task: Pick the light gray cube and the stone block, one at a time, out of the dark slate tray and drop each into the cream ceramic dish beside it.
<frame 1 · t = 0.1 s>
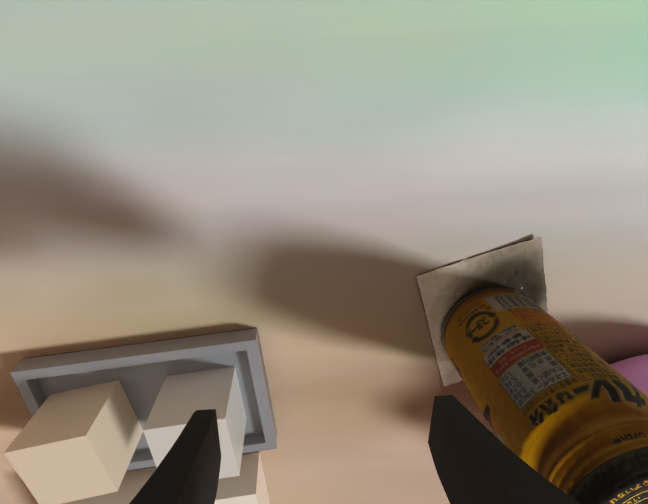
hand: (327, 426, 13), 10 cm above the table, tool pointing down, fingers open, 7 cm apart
light gray cube: (207, 397, 24), resting on slate tray
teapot: (633, 407, 28), on the table
sand stone: (98, 413, 23), resting on slate tray
condiment: (485, 313, 24), on the table
slate tray: (160, 398, 24), on the table
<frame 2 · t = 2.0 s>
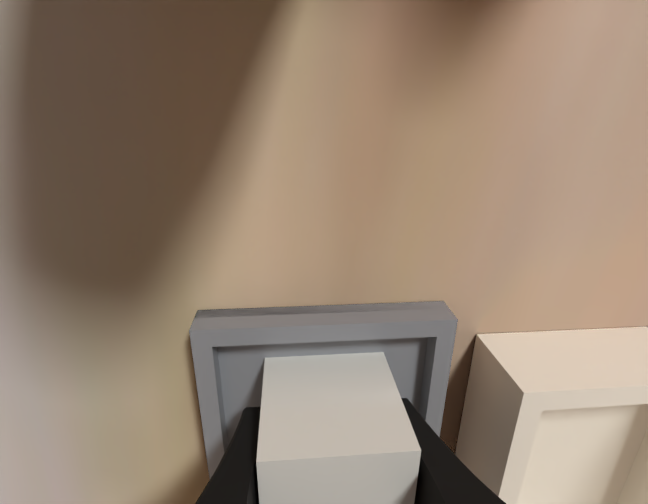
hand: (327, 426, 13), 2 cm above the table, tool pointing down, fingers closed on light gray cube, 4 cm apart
cream dish: (549, 454, 17), on the table
light gray cube: (324, 401, 14), resting on slate tray, touching gripper
slate tray: (322, 452, 15), on the table
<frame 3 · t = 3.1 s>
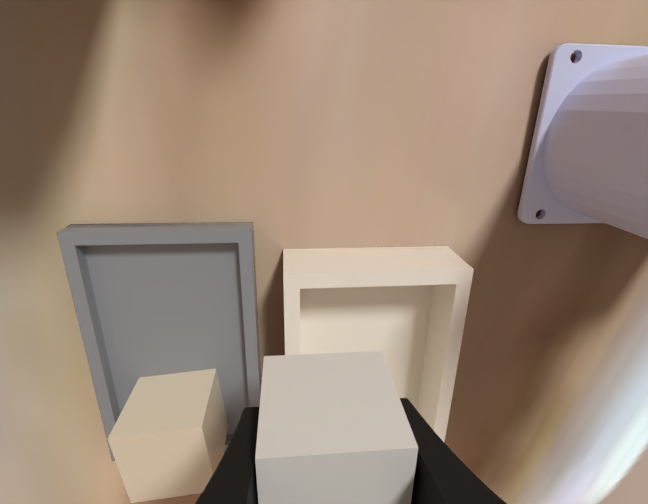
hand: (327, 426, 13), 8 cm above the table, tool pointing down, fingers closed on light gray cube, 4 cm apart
cream dish: (360, 350, 22), on the table
light gray cube: (323, 400, 14), point 7 cm above the table, touching gripper
sand stone: (185, 402, 21), resting on slate tray
slate tray: (180, 343, 21), on the table
when the fingers open (4 cm above the table, at t = 4.6 s): light gray cube drops 2 cm, resting on cream dish.
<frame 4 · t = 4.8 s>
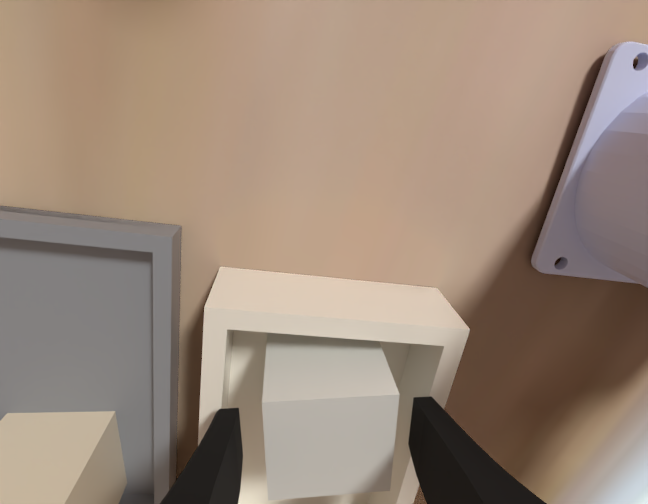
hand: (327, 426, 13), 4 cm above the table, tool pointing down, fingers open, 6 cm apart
cream dish: (310, 405, 17), on the table
light gray cube: (320, 366, 16), resting on cream dish
sand stone: (70, 450, 16), resting on slate tray
slate tray: (70, 372, 15), on the table
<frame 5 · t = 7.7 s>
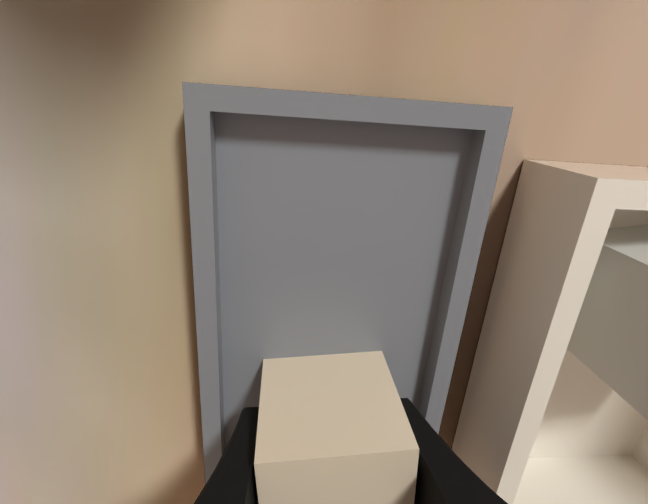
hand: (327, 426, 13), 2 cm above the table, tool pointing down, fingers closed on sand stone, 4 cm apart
cream dish: (587, 335, 14), on the table
light gray cube: (621, 282, 13), resting on cream dish
sand stone: (324, 401, 14), resting on slate tray, touching gripper
slate tray: (330, 308, 13), on the table
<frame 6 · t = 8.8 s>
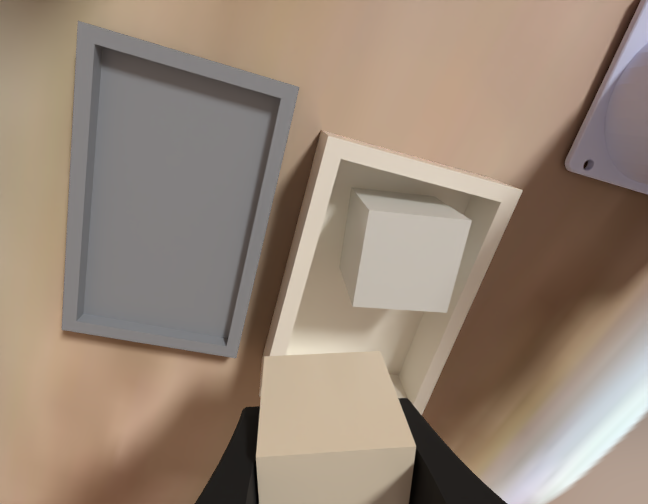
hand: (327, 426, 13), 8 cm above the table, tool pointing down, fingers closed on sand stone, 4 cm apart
cream dish: (367, 273, 20), on the table
light gray cube: (385, 232, 19), resting on cream dish
sand stone: (322, 399, 14), point 7 cm above the table, touching gripper
slate tray: (177, 211, 18), on the table
when the fingers open (4 cm above the table, at t = 10.3 s): sand stone drops 2 cm, resting on cream dish.
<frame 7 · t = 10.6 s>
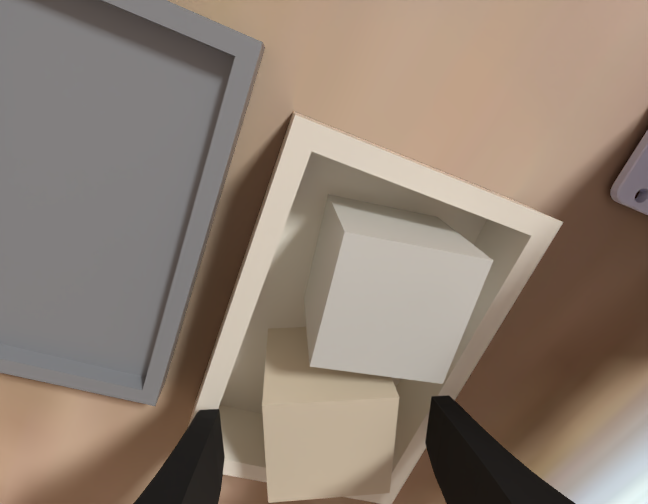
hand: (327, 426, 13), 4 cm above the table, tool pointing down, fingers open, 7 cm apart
cream dish: (341, 307, 15), on the table
light gray cube: (368, 258, 14), resting on cream dish
sand stone: (320, 369, 16), resting on cream dish
slate tray: (85, 203, 13), on the table
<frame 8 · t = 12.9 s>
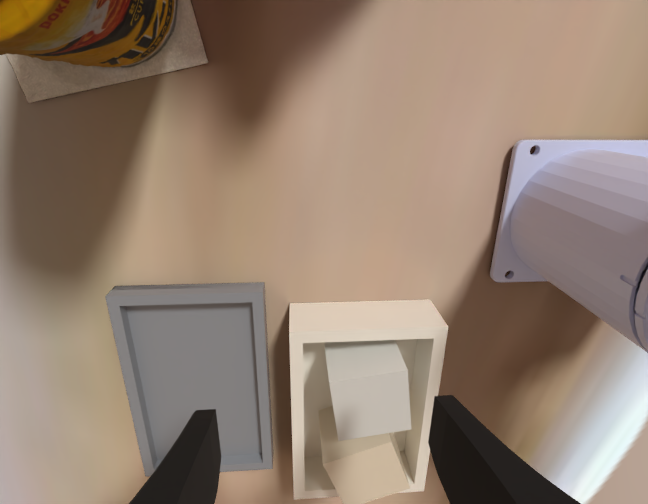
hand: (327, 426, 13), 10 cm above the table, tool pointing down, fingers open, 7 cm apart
cream dish: (356, 385, 25), on the table
light gray cube: (359, 358, 24), resting on cream dish
sand stone: (357, 422, 26), resting on cream dish
slate tray: (203, 379, 24), on the table
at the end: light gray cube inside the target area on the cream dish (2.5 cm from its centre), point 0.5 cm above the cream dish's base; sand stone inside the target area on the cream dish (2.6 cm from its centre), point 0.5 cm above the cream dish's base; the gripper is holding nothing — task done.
